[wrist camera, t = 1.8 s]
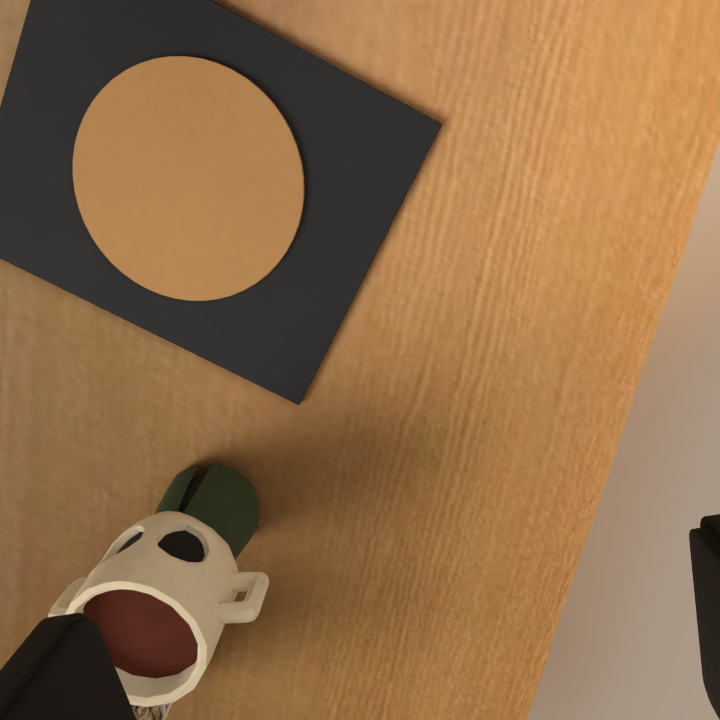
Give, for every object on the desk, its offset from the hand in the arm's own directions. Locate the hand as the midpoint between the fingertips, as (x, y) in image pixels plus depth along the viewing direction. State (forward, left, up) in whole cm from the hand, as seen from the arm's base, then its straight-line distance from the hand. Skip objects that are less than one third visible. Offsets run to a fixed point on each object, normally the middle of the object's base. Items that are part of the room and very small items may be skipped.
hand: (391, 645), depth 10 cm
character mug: (-5, -18, -28) cm, 34 cm away
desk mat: (-14, 0, -28) cm, 31 cm away
